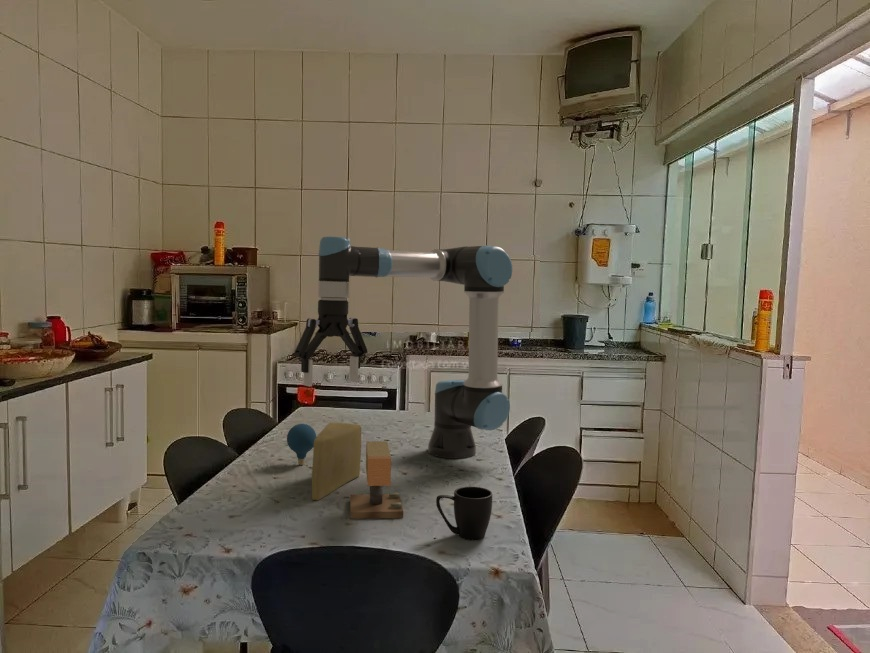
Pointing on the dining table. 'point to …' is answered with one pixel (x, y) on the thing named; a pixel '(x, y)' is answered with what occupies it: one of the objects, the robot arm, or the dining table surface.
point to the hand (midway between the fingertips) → (331, 383)
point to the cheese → (335, 458)
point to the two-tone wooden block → (378, 463)
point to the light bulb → (301, 440)
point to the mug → (469, 511)
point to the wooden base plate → (376, 505)
